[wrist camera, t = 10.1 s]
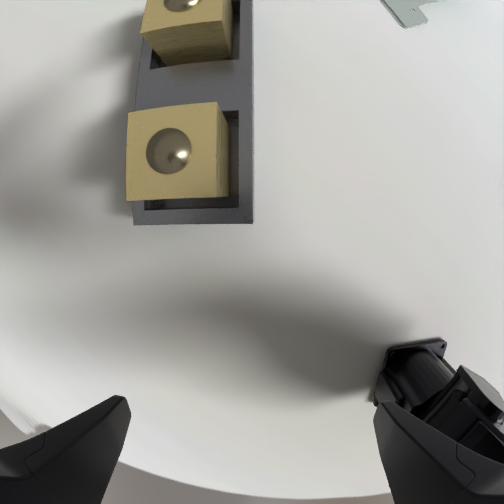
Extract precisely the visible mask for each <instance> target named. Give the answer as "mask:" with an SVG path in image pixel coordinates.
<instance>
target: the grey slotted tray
mask: <svg viewBox="0 0 504 504" xmlns="http://www.w3.org/2000/svg"><path fill="white" fill-rule="evenodd" d="M231 4H232V10H233V15H234V44H233V60H222V61H209V62H199V63H190V64H182V65H175V66H168V67H167V65H166V64H165V63H164V62H163V61H162V59H161V58H160V57H159V56H158V54H157V53H156V52H155V51H154V50H153V48H152V47H151V46H150V45H149V43H148V42H147V41H146V40H145V39H144V38H143V44H142V51H141V57H140V65H139V72H138V81H137V90H136V101H135V111H141V110H147V109H154V108H161V107H168V106H176V105H185V104H196V103H208V102H217V103H218V105H219V107H220V109H221V111H222V113H223V115H224V117H225V119H226V121H227V123H228V125H229V127H230V129H231V196H225V197H205V198H176V199H154V200H137V201H133V220H134V225H168V224H253V222H254V54H253V0H231Z"/></svg>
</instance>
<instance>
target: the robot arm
mask: <svg viewBox="0 0 504 504" xmlns="http://www.w3.org/2000/svg"><path fill="white" fill-rule="evenodd" d="M442 344H443V345H442ZM441 345H442V346H441ZM446 346H447V342H445V341H444V340H437V341H431V342H425V343H419V344H412V345H405V346H397V347H391V348H389V349H388V350H387V352H386V356H385V360H384V364H383V368H382V370H381V372H380V374H379V377H378V381H377V385H376V388H375V391H374V394H375V396H374V399H373V404H374V406H376V407H377V410H376V413H375V415H374V419H373V423H374V428H375V433H376V438H377V443H378V448H379V453H380V457H381V461H382V464H383V467H384V470H385V473H386V476H387V480H388V483H389V487H390V489H391V493H392V496H393V499H394V503H395V504H504V401H503V399H502V397H501V395H500V393H499V392H498V391H497V390H496V389H495V388H494V387H493V386H492V385H491V384H490V383H488V382H487V381H486V380H485V379H484V378H483V377H481V376H479V375H478V374H476V373H474V372H472V371H471V370H469V369H467V368H466V367H464V366H462V365H460V366H459V368H458V369H457V370H456V371H457V372H456V371H455V370H454V369H453V368H452V367H451V366H450V365H449V364H448V363H447V361H446V360H445V359H444V358H443V356H444V353H445V350H446ZM392 352H394V353H393V354H391V353H392ZM130 419H131V411H130V408H129V405H128V402H127V400H126V398H125V397H123V396H118V395H114V396H112V397H110V398H108V399H107V400H105V401H103V402H101V403H99V404H98V405H96V406H94V407H92V408H90V409H88V410H86V411H85V412H83V413H81V414H79V415H77V416H75V417H73V418H71V419H69V420H67V421H65V422H64V423H62V424H60V425H58V426H56V427H54V428H52V429H50V430H48V431H46V432H43V433H41V434H39V435H37V436H35V437H33V438H30V439H28V440H26V441H23V442H20V443H17V444H14V445H11V446H8V447H5V448H2V449H0V504H101V501H102V499H103V496H104V493H105V491H106V488H107V486H108V483H109V481H110V478H111V476H112V473H113V471H114V468H115V466H116V463H117V461H118V458H119V456H120V453H121V451H122V448H123V445H124V441H125V437H126V434H127V430H128V426H129V423H130Z"/></svg>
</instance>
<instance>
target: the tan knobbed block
mask: <svg viewBox="0 0 504 504" xmlns="http://www.w3.org/2000/svg"><path fill="white" fill-rule="evenodd" d="M140 34H141V35H142V36H143V38H144V39H145V40H146V41H147V42H148V43H149V45H150V46H151V47H152V48H153V50H154V51H155V52H156V53H157V54H158V56H159V57H160V58H161V59H162V61H163V62H164V63H165V64H166V65H167V67H168V66H175V65H182V64H190V63H199V62H209V61H222V60H233V44H234V15H233V10H232V4H231V0H147V3H146V7H145V11H144V16H143V20H142V25H141V30H140Z"/></svg>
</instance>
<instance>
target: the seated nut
mask: <svg viewBox="0 0 504 504" xmlns="http://www.w3.org/2000/svg"><path fill="white" fill-rule="evenodd" d="M225 196H231V129H230V127H229V125H228V123H227V121H226V119H225V117H224V115H223V113H222V111H221V109H220V107H219V105H218V103H217V102H208V103H196V104H185V105H176V106H168V107H161V108H154V109H147V110H141V111H135V112H130V113H128V124H127V145H126V201H137V200H154V199H176V198H205V197H225Z"/></svg>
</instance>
